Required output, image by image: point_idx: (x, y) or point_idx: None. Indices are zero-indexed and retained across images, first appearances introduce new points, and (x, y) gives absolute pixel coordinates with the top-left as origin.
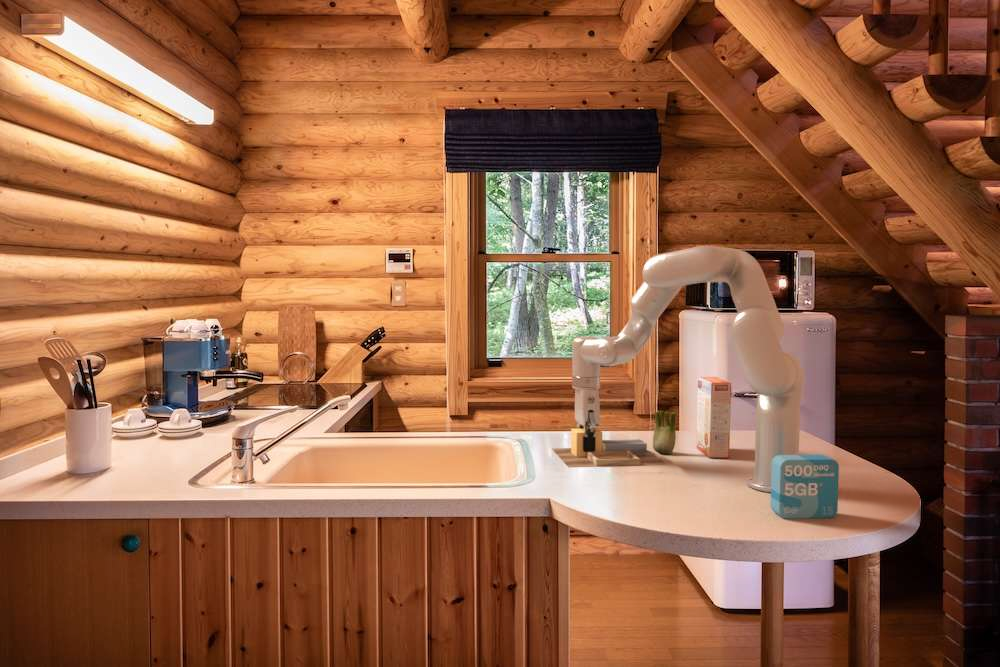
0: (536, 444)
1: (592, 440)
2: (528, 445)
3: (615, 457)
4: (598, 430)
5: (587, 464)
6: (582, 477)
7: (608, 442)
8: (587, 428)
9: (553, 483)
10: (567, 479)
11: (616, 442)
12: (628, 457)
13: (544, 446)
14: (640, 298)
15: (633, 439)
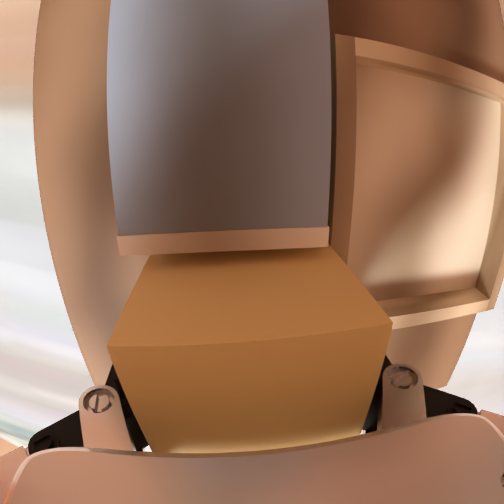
0: (3, 406)
1: (386, 362)
2: (26, 428)
3: (369, 150)
4: (280, 352)
5: (447, 327)
6: (497, 335)
7: (228, 172)
8: (151, 422)
9: (493, 392)
10: (490, 369)
11: (237, 91)
12: (384, 69)
13: (18, 396)
14: None
15: None
